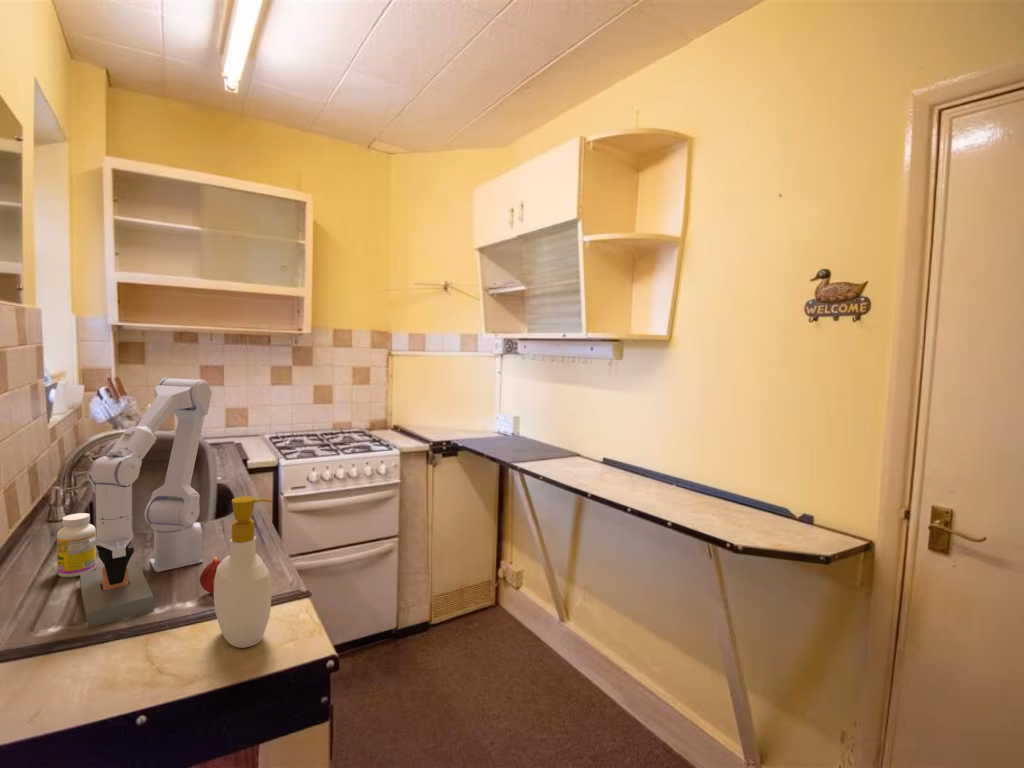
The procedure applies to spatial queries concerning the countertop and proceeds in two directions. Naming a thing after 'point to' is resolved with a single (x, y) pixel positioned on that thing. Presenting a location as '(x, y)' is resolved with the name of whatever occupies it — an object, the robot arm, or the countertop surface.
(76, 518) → the supplement bottle
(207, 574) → the onion
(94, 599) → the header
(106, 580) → the plug
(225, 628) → the soap bottle
